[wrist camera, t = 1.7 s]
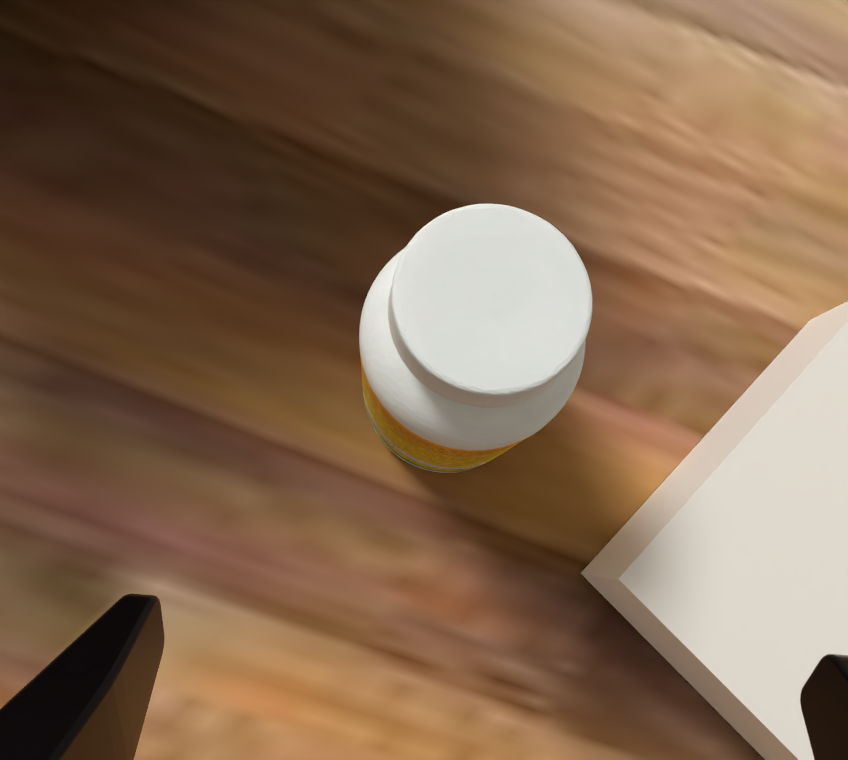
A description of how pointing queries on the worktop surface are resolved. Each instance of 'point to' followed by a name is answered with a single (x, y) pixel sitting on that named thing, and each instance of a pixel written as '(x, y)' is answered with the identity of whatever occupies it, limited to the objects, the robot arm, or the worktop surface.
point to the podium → (750, 546)
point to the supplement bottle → (473, 336)
